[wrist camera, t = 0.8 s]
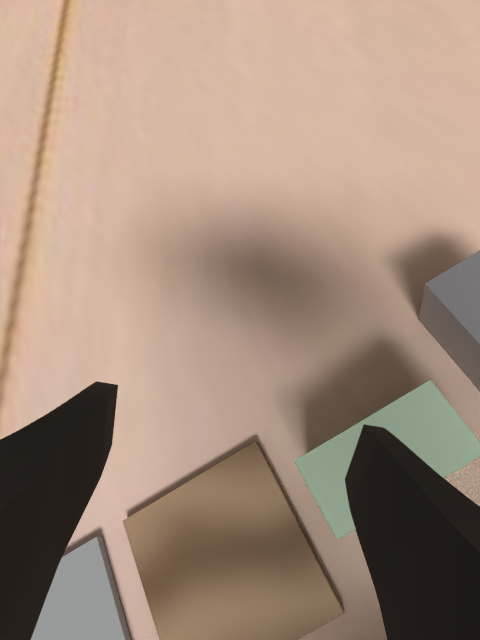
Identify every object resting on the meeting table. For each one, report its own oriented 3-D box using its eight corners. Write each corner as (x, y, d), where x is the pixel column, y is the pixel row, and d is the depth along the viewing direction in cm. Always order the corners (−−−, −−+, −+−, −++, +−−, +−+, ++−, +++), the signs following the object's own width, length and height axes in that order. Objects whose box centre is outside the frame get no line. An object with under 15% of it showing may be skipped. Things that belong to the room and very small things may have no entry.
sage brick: (469, 463, 24) (488, 451, 20) (345, 535, 24) (337, 539, 20) (423, 402, 26) (430, 379, 22) (309, 470, 26) (294, 460, 22)
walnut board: (344, 611, 23) (343, 613, 22) (185, 702, 23) (180, 706, 23) (257, 442, 28) (255, 441, 27) (127, 520, 28) (122, 520, 28)
